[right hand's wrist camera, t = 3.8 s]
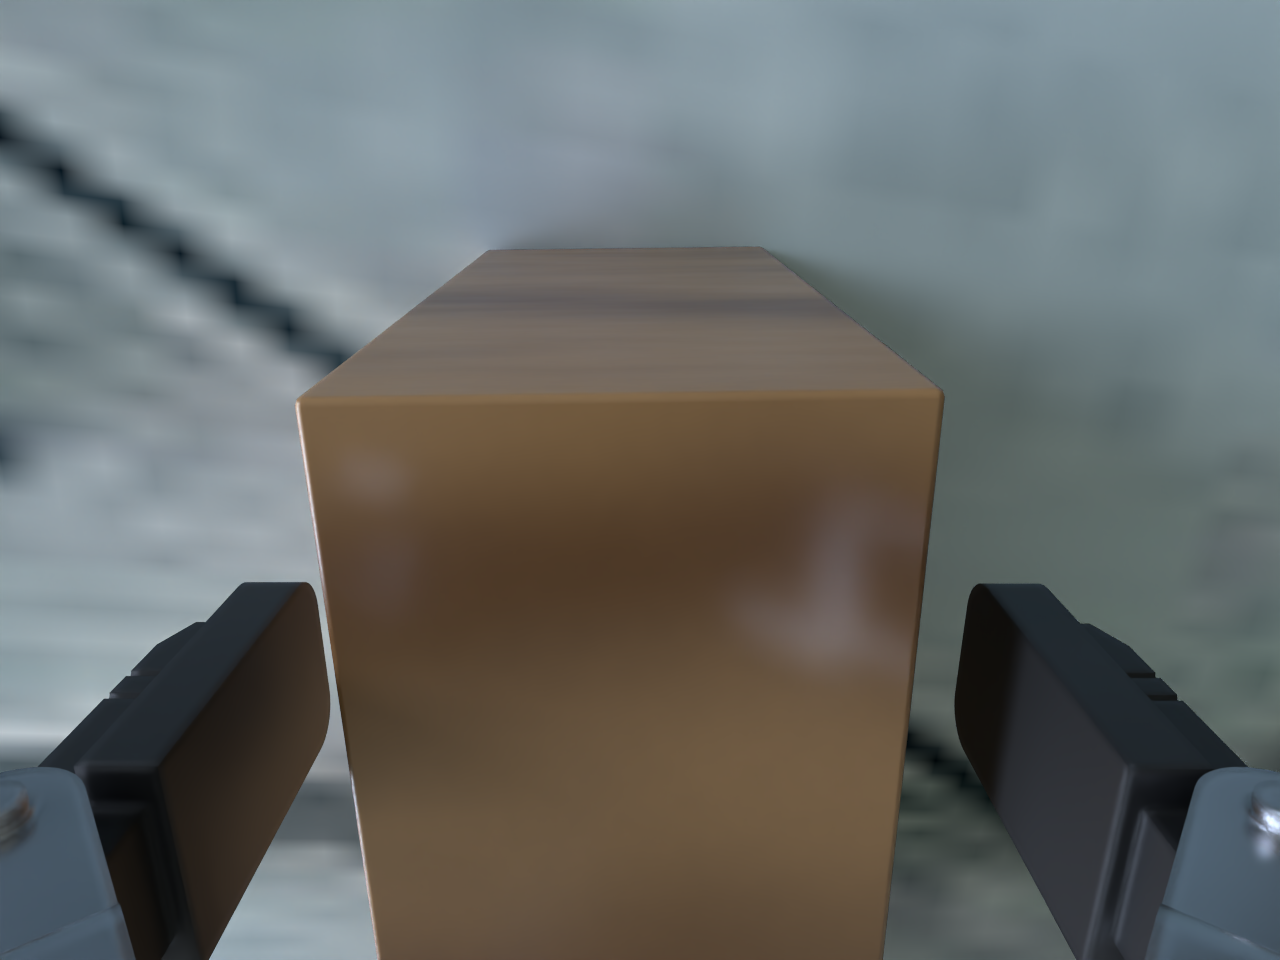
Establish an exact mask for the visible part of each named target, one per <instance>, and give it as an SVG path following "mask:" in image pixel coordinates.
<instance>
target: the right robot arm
mask: <svg viewBox="0 0 1280 960" xmlns="http://www.w3.org/2000/svg"><path fill="white" fill-rule="evenodd" d="M954 706H955V721H956V727H957V732H958V736H959V740H960V743H961V745H962V748H963V750H964V752H965V753H966V755H967V757H968V759H969V761H970V763H971V765H972V766H973V768H974V770H975V772H976V774H977V776H978V778H979V779H980V781H981V783H982V785H983V787H984V789H985V791H986V792H987V794H988V796H989V798H990V800H991V802H992V804H993V805H994V807H995V809H996V811H997V813H998V815H999V817H1000V818H1001V820H1002V822H1003V824H1004V826H1005V828H1006V830H1007V831H1008V833H1009V835H1010V837H1011V839H1012V841H1013V843H1014V844H1015V846H1016V848H1017V850H1018V852H1019V854H1020V856H1021V857H1022V859H1023V861H1024V863H1025V865H1026V867H1027V869H1028V870H1029V872H1030V874H1031V876H1032V878H1033V880H1034V882H1035V883H1036V885H1037V887H1038V889H1039V891H1040V893H1041V895H1042V897H1043V898H1044V900H1045V902H1046V904H1047V906H1048V908H1049V910H1050V911H1051V913H1052V915H1053V917H1054V919H1055V921H1056V923H1057V924H1058V926H1059V928H1060V930H1061V932H1062V934H1063V936H1064V937H1065V939H1066V941H1067V943H1068V945H1069V947H1070V949H1071V950H1072V952H1073V954H1074V956H1075V958H1076V960H1280V773H1279V772H1275V771H1270V770H1265V769H1259V768H1250V767H1247V766H1246V765H1245V764H1244V763H1243V761H1242V760H1241V759H1240V758H1239V757H1238V756H1237V755H1236V754H1235V753H1234V752H1233V751H1232V750H1231V749H1230V748H1229V747H1228V746H1227V745H1226V744H1225V743H1224V742H1223V741H1222V740H1221V739H1220V738H1219V737H1218V736H1217V735H1216V734H1215V733H1214V732H1213V731H1212V730H1211V729H1210V728H1209V727H1208V726H1207V725H1206V724H1205V723H1204V722H1203V721H1202V720H1201V719H1200V718H1199V717H1198V716H1197V715H1196V714H1195V713H1194V712H1193V711H1192V710H1191V709H1190V708H1189V707H1188V706H1187V705H1186V704H1185V703H1184V701H1178V700H1177V694H1176V693H1175V692H1174V691H1173V690H1172V689H1171V688H1170V687H1169V686H1168V685H1167V684H1166V683H1165V682H1164V681H1163V680H1162V679H1161V678H1156V677H1155V672H1154V671H1153V670H1152V669H1151V668H1150V667H1149V666H1148V665H1147V664H1146V663H1145V662H1144V661H1143V660H1142V659H1141V658H1140V657H1139V656H1138V655H1137V654H1136V653H1135V652H1134V651H1133V650H1132V649H1131V648H1130V647H1129V646H1128V645H1126V644H1124V643H1123V642H1121V641H1119V640H1117V639H1115V638H1114V637H1112V636H1110V635H1108V634H1107V633H1105V632H1103V631H1101V630H1100V629H1098V628H1096V627H1094V626H1093V625H1091V624H1080V623H1079V622H1078V621H1077V620H1076V619H1075V618H1074V616H1073V615H1072V614H1071V613H1070V612H1069V611H1068V610H1067V609H1066V608H1065V607H1064V606H1063V605H1062V603H1061V602H1060V601H1059V600H1058V599H1057V598H1056V597H1055V596H1054V595H1053V594H1052V593H1051V592H1050V591H1049V589H1048V588H1047V587H1045V586H1044V585H1042V584H977V585H976V586H975V587H974V588H973V589H972V591H971V593H970V596H969V600H968V605H967V612H966V619H965V626H964V633H963V640H962V648H961V655H960V662H959V669H958V676H957V684H956V691H955V705H954ZM329 717H330V691H329V684H328V676H327V669H326V662H325V654H324V647H323V640H322V632H321V625H320V618H319V610H318V604H317V598H316V595H315V592H314V590H313V588H312V586H311V585H310V584H309V583H307V582H245V583H242V584H241V585H240V586H239V587H238V588H237V589H236V590H235V591H234V592H233V593H232V594H231V595H230V596H229V597H228V598H227V600H226V601H225V602H224V603H223V604H222V605H221V606H220V607H219V608H218V609H217V610H216V612H215V613H214V614H213V615H212V616H211V617H210V618H209V619H208V620H207V621H206V622H196V623H194V624H192V625H190V626H189V627H187V628H185V629H183V630H182V631H180V632H178V633H176V634H175V635H173V636H171V637H169V638H168V639H166V640H164V641H162V642H161V643H159V644H157V645H156V646H155V647H154V648H153V649H152V650H151V651H150V652H149V653H148V654H147V655H146V656H145V657H144V658H143V659H142V660H141V661H140V662H139V663H138V664H137V665H136V666H135V668H134V669H133V670H132V671H131V676H126V677H125V678H124V679H123V680H122V681H121V682H120V683H119V684H118V685H117V686H116V687H115V688H114V689H113V690H112V691H111V692H110V697H109V699H103V700H102V701H101V702H100V703H99V704H98V705H97V707H96V708H95V709H94V710H93V711H92V712H91V713H90V714H89V715H88V716H87V717H86V718H85V719H84V720H83V721H82V722H81V723H80V724H79V725H78V726H77V727H76V728H75V729H74V730H73V731H72V732H71V733H70V734H69V735H68V736H67V737H66V738H65V739H64V740H63V741H62V742H61V743H60V744H59V745H58V747H57V748H56V749H55V750H54V751H53V752H52V753H51V754H50V755H49V756H48V757H47V758H46V759H45V760H44V761H43V762H42V763H41V764H40V765H39V766H38V767H30V768H21V769H15V770H10V771H5V772H1V773H0V960H209V958H210V956H211V955H212V953H213V951H214V949H215V947H216V945H217V943H218V941H219V940H220V938H221V936H222V934H223V932H224V930H225V928H226V926H227V924H228V923H229V921H230V919H231V917H232V915H233V913H234V911H235V909H236V908H237V906H238V904H239V902H240V900H241V898H242V896H243V894H244V893H245V891H246V889H247V887H248V885H249V883H250V881H251V879H252V877H253V876H254V874H255V872H256V870H257V868H258V866H259V864H260V862H261V861H262V859H263V857H264V855H265V853H266V851H267V849H268V847H269V846H270V844H271V842H272V840H273V838H274V836H275V834H276V832H277V830H278V829H279V827H280V825H281V823H282V821H283V819H284V817H285V815H286V814H287V812H288V810H289V808H290V806H291V804H292V802H293V800H294V799H295V797H296V795H297V793H298V791H299V789H300V787H301V785H302V783H303V782H304V780H305V778H306V776H307V774H308V772H309V770H310V768H311V767H312V765H313V763H314V761H315V759H316V757H317V755H318V753H319V752H320V750H321V748H322V745H323V743H324V740H325V737H326V734H327V729H328V724H329Z"/></svg>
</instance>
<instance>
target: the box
mask: <svg viewBox="0 0 1280 960" xmlns="http://www.w3.org/2000/svg"><path fill="white" fill-rule="evenodd" d="M944 400H945V396H944V393H943V390H942V389H941V388H939V387H938V386H937V385H936V384H934V383H933V382H932V381H931V380H929V379H928V378H927V377H925V376H924V375H923V374H922V373H920V372H919V371H918V370H917V369H915V368H914V367H913V366H912V365H910V364H909V363H908V362H907V361H905V360H904V359H903V358H901V357H900V356H899V355H898V354H896V353H895V352H894V351H893V350H891V349H890V348H889V347H888V346H886V345H885V344H884V343H882V342H881V341H880V340H879V339H877V338H876V337H875V336H874V335H872V334H871V333H870V332H869V331H867V330H866V329H865V328H864V327H862V326H861V325H860V324H858V323H857V322H856V321H855V320H853V319H852V318H851V317H850V316H848V315H847V314H846V313H845V312H843V311H842V310H841V309H839V308H838V307H837V306H836V305H834V304H833V303H832V302H831V301H829V300H828V299H827V298H826V297H824V296H823V295H822V294H820V293H819V292H818V291H817V290H815V289H814V288H813V287H812V286H810V285H809V284H808V283H807V282H805V281H804V280H803V279H802V278H800V277H799V276H798V275H796V274H795V273H794V272H793V271H791V270H790V269H789V268H788V267H786V266H785V265H784V264H783V263H781V262H780V261H779V260H777V259H776V258H775V257H774V256H772V255H771V254H770V253H769V252H767V251H766V250H765V249H764V248H762V247H692V248H612V249H532V250H489V251H486V252H485V253H484V254H483V255H481V256H480V257H479V258H477V259H476V260H475V261H474V262H472V263H471V264H470V265H468V266H467V267H466V268H465V269H463V270H462V271H461V272H459V273H458V274H457V275H456V276H454V277H453V278H452V279H450V280H449V281H448V282H447V283H445V284H444V285H443V286H441V287H440V288H439V289H438V290H436V291H435V292H434V293H432V294H431V295H430V296H429V297H427V298H426V299H425V300H423V301H422V302H421V303H420V304H418V305H417V306H416V307H414V308H413V309H412V310H411V311H409V312H408V313H407V314H406V315H404V316H403V317H402V318H400V319H399V320H398V321H397V322H395V323H394V324H393V325H391V326H390V327H389V328H388V329H386V330H385V331H384V332H382V333H381V334H380V335H379V336H377V337H376V338H375V339H373V340H372V341H371V342H370V343H368V344H367V345H366V346H364V347H363V348H362V349H361V350H359V351H358V352H357V353H355V354H354V355H353V356H352V357H350V358H349V359H348V360H346V361H345V362H344V363H343V364H341V365H340V366H339V367H337V368H336V369H335V370H334V371H332V372H331V373H330V374H328V375H327V376H326V377H325V378H323V379H322V380H321V381H319V382H318V383H317V384H316V385H314V386H313V387H312V388H310V389H309V390H308V391H307V392H305V393H304V394H303V395H301V396H300V397H299V398H298V399H297V401H296V404H295V409H296V415H297V422H298V429H299V436H300V442H301V449H302V456H303V462H304V469H305V476H306V483H307V489H308V496H309V503H310V509H311V516H312V523H313V530H314V536H315V543H316V550H317V556H318V563H319V570H320V577H321V583H322V590H323V597H324V603H325V610H326V617H327V623H328V630H329V637H330V644H331V650H332V657H333V664H334V670H335V677H336V684H337V691H338V697H339V704H340V711H341V717H342V724H343V731H344V738H345V744H346V751H347V758H348V764H349V771H350V778H351V785H352V791H353V798H354V805H355V811H356V818H357V825H358V832H359V838H360V845H361V852H362V858H363V865H364V872H365V879H366V885H367V892H368V899H369V905H370V912H371V919H372V925H373V932H374V939H375V946H376V952H377V959H378V960H883V954H884V945H885V935H886V926H887V917H888V908H889V899H890V890H891V881H892V872H893V863H894V854H895V845H896V836H897V827H898V817H899V808H900V799H901V790H902V781H903V772H904V763H905V754H906V745H907V736H908V727H909V718H910V708H911V699H912V690H913V681H914V672H915V663H916V654H917V645H918V636H919V627H920V618H921V609H922V600H923V590H924V581H925V572H926V563H927V554H928V545H929V536H930V527H931V518H932V509H933V500H934V491H935V481H936V472H937V463H938V454H939V445H940V436H941V427H942V418H943V409H944Z"/></svg>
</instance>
